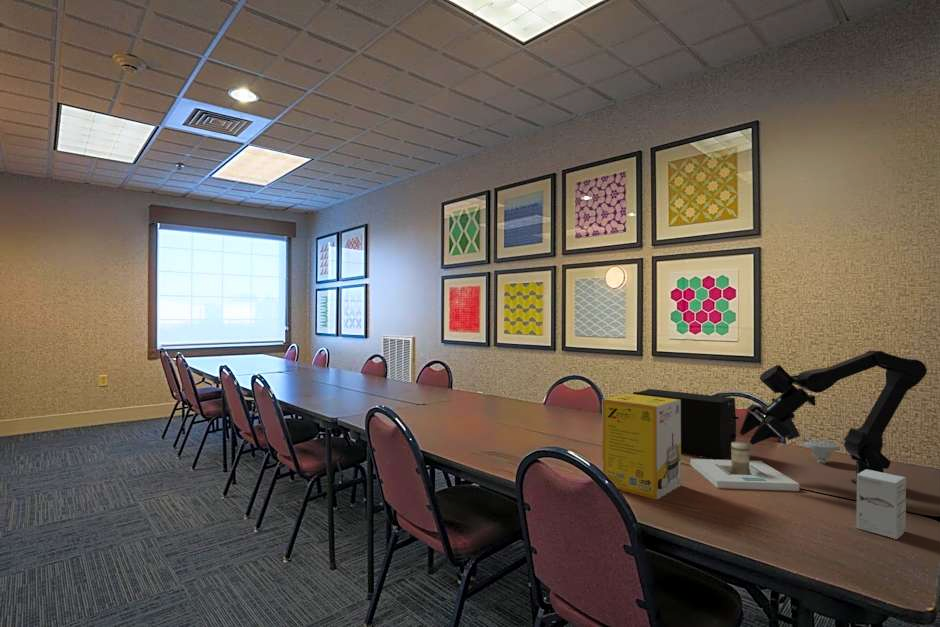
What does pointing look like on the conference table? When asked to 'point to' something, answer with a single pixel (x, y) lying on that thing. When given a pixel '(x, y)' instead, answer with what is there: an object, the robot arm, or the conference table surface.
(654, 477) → the packaging box
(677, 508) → the conference table surface
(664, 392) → the uninterruptible power supply
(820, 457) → the showerhead
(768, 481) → the hole plate
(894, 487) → the supplement box
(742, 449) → the beech peg
